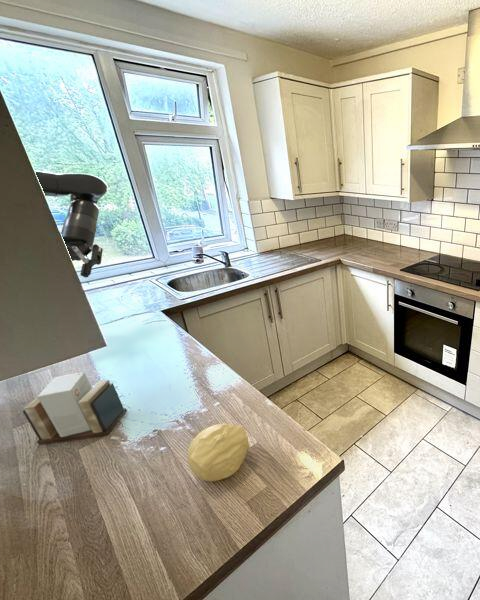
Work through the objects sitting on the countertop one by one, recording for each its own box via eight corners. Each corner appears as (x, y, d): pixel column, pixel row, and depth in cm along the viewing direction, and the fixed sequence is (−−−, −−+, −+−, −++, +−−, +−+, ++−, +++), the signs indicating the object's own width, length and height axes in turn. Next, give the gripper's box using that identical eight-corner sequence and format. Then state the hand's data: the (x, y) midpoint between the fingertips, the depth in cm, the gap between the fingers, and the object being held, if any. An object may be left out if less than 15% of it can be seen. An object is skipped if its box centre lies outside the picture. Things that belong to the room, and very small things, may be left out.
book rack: (38, 444, 81) (17, 409, 76) (64, 418, 89) (47, 385, 84) (107, 435, 83) (91, 401, 79) (127, 410, 91) (113, 378, 87)
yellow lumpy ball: (210, 501, 68) (197, 464, 63) (184, 470, 74) (171, 434, 70) (260, 463, 76) (252, 428, 72) (233, 438, 83) (224, 405, 78)
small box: (74, 416, 88) (53, 376, 83) (103, 409, 90) (85, 370, 85) (59, 438, 81) (36, 396, 76) (91, 430, 83) (71, 389, 78)
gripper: (42, 225, 99) (28, 273, 94) (96, 223, 102) (85, 270, 96) (63, 238, 106) (50, 283, 101) (112, 236, 109) (103, 280, 103)
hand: (68, 277), depth 98 cm, fingers open, 8 cm apart
